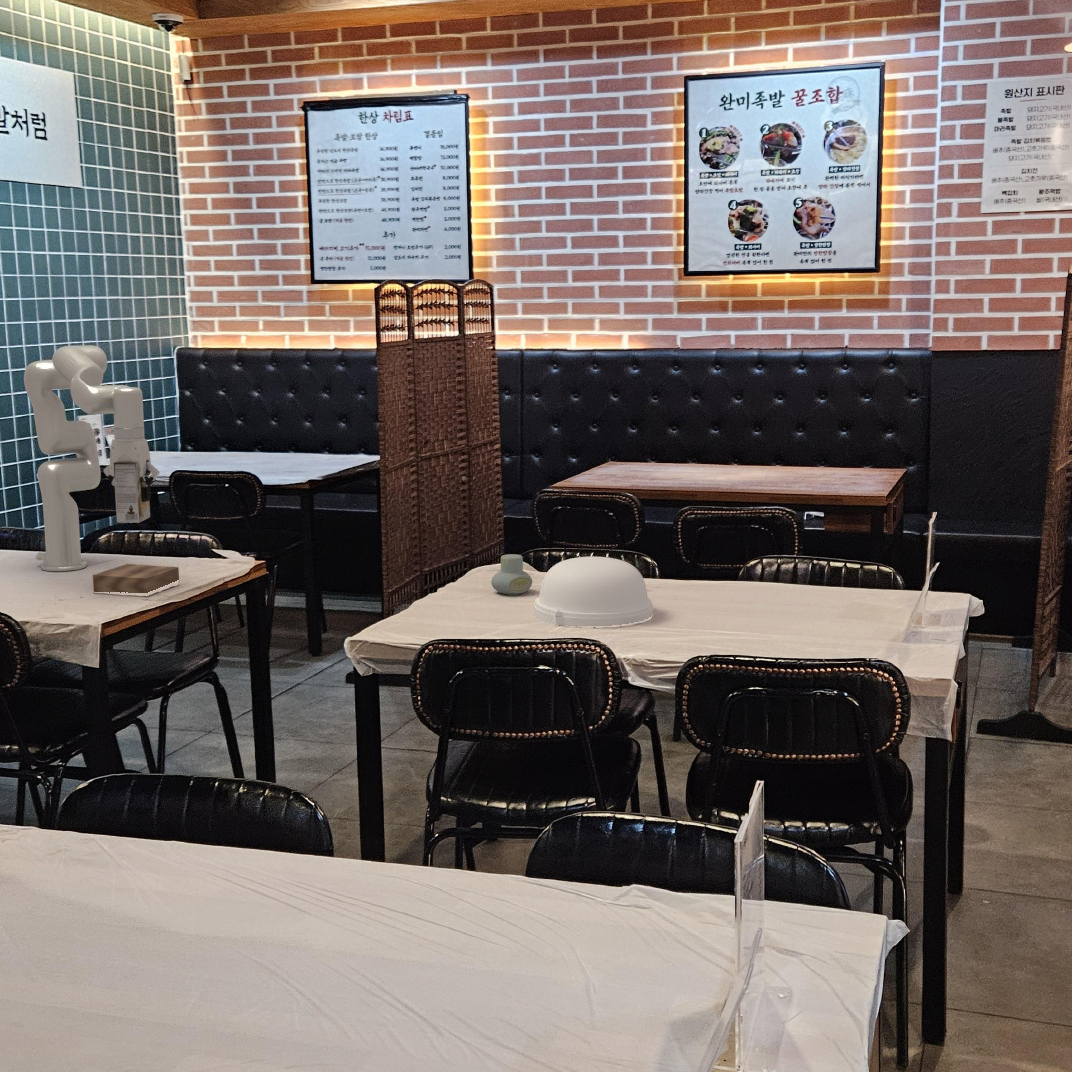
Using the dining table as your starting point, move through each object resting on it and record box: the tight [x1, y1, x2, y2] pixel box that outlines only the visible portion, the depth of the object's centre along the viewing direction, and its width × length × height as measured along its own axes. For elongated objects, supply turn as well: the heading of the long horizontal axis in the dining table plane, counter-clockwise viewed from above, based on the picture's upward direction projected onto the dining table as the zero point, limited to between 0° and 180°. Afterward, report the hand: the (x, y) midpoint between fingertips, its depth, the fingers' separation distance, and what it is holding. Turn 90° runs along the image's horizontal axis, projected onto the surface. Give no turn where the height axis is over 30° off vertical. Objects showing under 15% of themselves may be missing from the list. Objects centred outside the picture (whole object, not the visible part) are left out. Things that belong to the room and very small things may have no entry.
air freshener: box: [490, 553, 533, 596], centre depth 352 cm, size 11×8×10 cm
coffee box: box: [114, 461, 151, 524], centre depth 352 cm, size 9×6×16 cm
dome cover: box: [532, 556, 654, 626], centre depth 328 cm, size 32×30×14 cm
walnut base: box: [92, 563, 180, 593], centre depth 356 cm, size 16×16×5 cm
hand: (132, 500), depth 352 cm, fingers closed on coffee box, 7 cm apart
